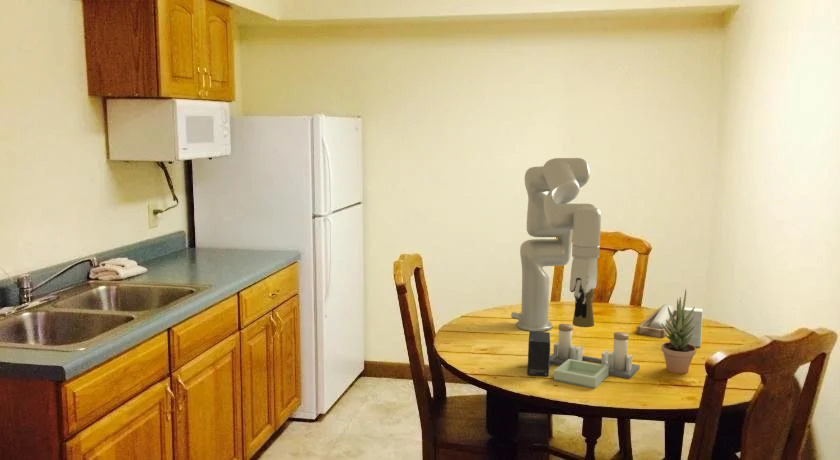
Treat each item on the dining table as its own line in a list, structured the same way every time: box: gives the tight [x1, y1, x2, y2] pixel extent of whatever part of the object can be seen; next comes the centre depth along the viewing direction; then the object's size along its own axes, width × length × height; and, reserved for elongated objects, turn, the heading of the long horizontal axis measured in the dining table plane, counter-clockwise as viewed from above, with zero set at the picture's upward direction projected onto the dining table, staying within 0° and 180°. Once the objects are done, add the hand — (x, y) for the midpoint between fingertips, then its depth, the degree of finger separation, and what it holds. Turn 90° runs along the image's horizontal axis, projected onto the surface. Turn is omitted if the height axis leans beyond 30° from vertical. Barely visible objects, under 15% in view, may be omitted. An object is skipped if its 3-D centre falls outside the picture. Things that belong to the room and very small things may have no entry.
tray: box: [553, 359, 609, 390], centre depth 209 cm, size 12×12×3 cm
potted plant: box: [661, 289, 697, 374], centre depth 214 cm, size 10×10×25 cm
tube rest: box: [636, 307, 677, 338], centre depth 263 cm, size 9×30×2 cm, turn 148°
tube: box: [649, 304, 675, 329], centre depth 263 cm, size 5×5×25 cm
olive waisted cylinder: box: [571, 288, 595, 328], centre depth 206 cm, size 6×6×11 cm
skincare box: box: [684, 306, 704, 348], centre depth 240 cm, size 6×4×12 cm
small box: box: [526, 331, 551, 377], centre depth 215 cm, size 11×6×10 cm, turn 170°
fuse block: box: [549, 323, 641, 380], centre depth 219 cm, size 26×10×11 cm, turn 58°
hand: (583, 314), depth 206 cm, fingers closed on olive waisted cylinder, 4 cm apart
